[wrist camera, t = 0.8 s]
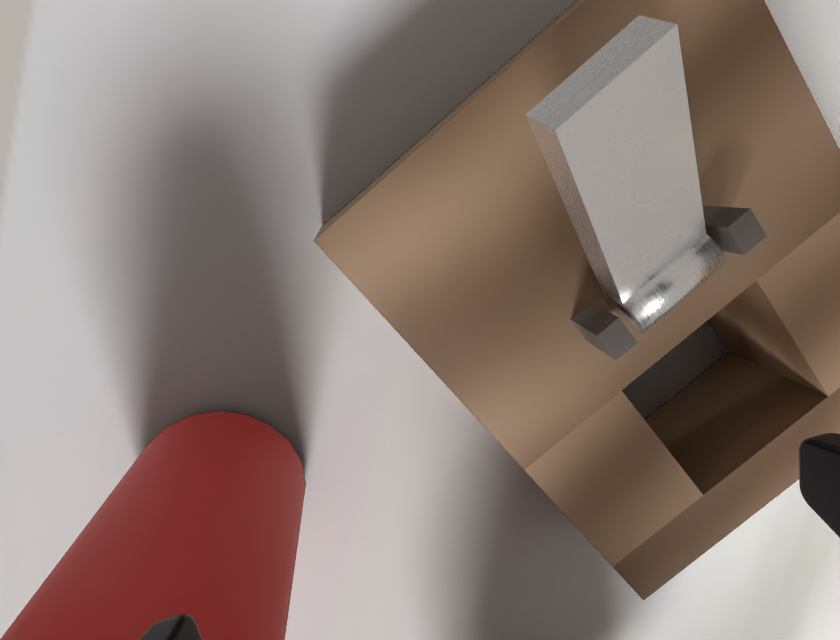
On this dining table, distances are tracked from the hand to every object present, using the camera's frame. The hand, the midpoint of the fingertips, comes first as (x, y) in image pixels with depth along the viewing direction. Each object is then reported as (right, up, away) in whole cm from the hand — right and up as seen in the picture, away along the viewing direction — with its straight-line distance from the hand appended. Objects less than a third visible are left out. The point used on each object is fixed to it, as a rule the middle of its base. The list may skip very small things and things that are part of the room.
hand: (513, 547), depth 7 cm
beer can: (-9, -3, +14) cm, 17 cm away
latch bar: (+4, +6, +6) cm, 10 cm away
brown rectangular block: (+6, +5, +14) cm, 16 cm away
